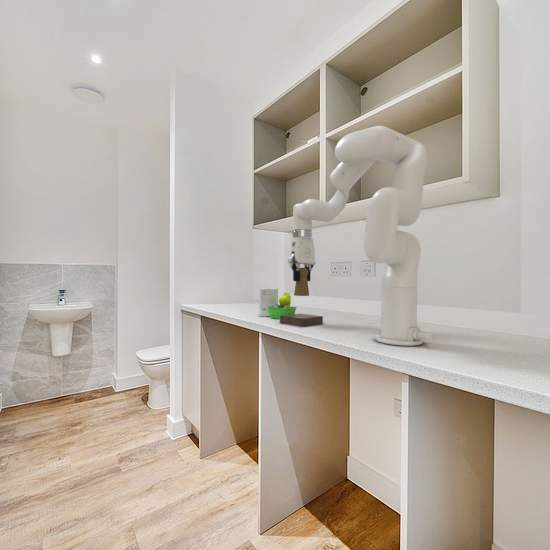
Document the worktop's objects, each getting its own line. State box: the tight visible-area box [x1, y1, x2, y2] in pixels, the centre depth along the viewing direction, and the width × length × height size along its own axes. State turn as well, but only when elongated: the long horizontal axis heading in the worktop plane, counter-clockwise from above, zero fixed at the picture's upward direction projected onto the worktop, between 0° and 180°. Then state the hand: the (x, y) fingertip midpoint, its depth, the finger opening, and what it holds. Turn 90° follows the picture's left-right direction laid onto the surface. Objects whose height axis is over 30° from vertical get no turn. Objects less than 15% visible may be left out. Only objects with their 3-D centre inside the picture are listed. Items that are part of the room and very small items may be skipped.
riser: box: [279, 313, 324, 328], centre depth 123 cm, size 12×12×3 cm
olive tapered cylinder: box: [293, 267, 310, 297], centre depth 123 cm, size 6×6×11 cm
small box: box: [259, 287, 279, 317], centre depth 147 cm, size 8×6×13 cm
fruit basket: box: [268, 292, 297, 320], centre depth 138 cm, size 11×9×11 cm
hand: (301, 280), depth 123 cm, fingers closed on olive tapered cylinder, 5 cm apart
